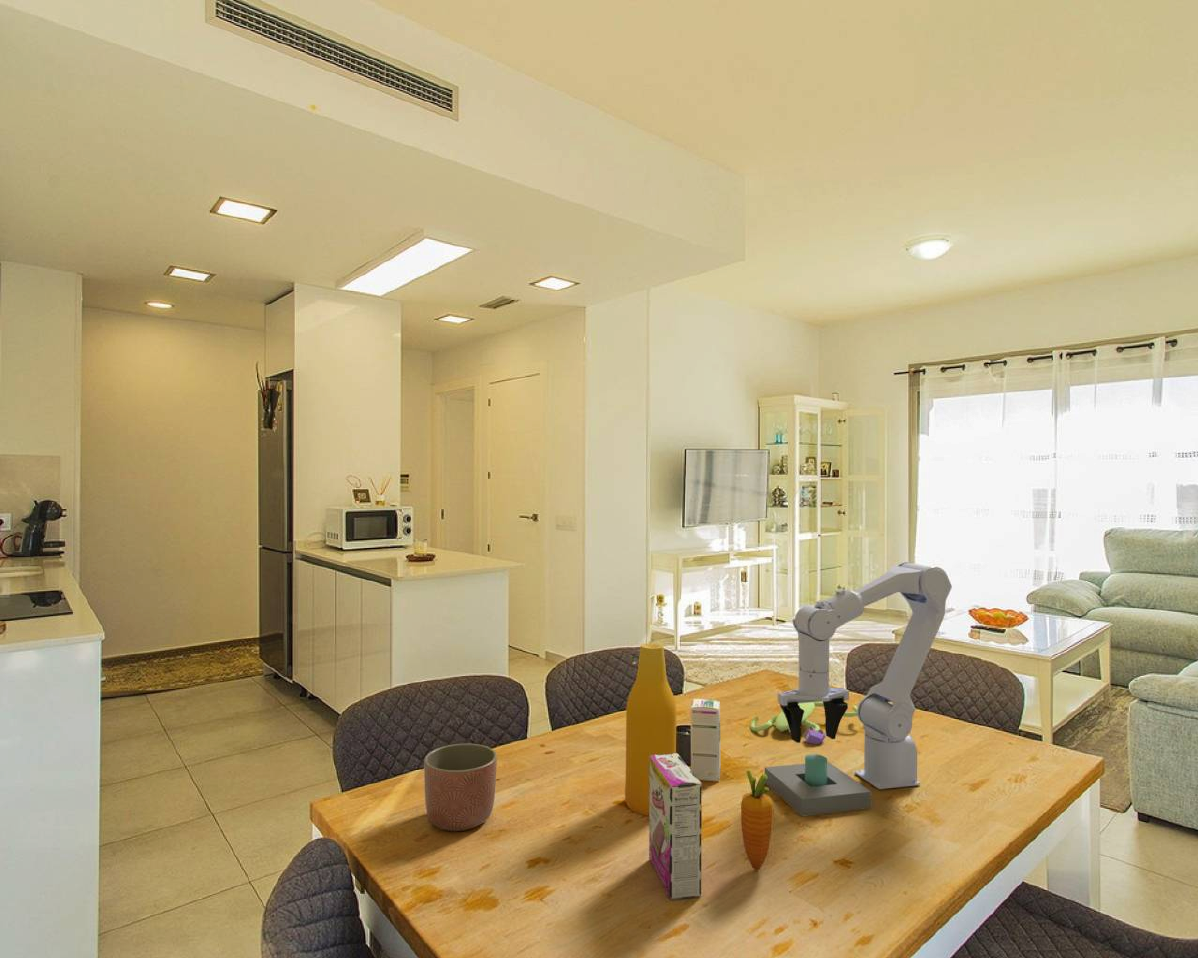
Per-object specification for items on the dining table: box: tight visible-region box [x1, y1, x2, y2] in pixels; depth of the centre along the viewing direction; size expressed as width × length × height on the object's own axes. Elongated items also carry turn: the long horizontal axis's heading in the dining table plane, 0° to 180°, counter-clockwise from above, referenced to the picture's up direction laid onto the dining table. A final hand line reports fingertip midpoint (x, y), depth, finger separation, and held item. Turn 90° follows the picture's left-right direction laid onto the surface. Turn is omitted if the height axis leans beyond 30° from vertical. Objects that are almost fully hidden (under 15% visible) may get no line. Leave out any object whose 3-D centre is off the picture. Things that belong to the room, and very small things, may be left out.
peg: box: [804, 753, 828, 787], centre depth 130 cm, size 4×4×7 cm
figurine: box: [749, 701, 858, 745], centre depth 167 cm, size 18×27×6 cm
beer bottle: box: [624, 642, 677, 816], centre depth 126 cm, size 9×9×29 cm
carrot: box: [740, 770, 774, 872], centre depth 105 cm, size 5×5×15 cm
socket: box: [764, 760, 872, 817], centre depth 131 cm, size 14×14×3 cm
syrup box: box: [690, 698, 721, 782], centre depth 139 cm, size 6×6×14 cm
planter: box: [423, 743, 498, 832], centre depth 119 cm, size 12×12×11 cm
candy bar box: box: [648, 752, 703, 901], centre depth 102 cm, size 11×5×16 cm, turn 12°
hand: (813, 739), depth 134 cm, fingers open, 7 cm apart
